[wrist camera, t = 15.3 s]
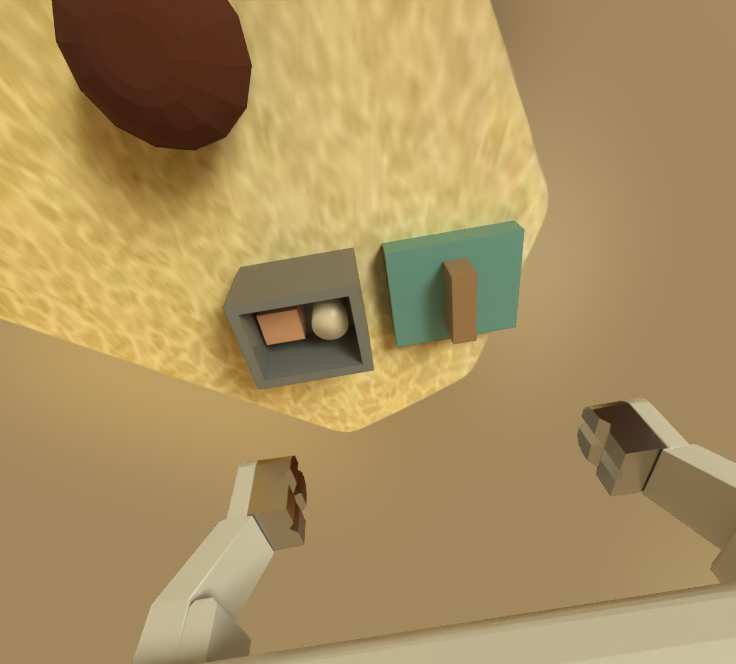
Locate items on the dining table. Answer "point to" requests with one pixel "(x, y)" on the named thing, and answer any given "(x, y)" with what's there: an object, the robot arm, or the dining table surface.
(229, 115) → the muffin
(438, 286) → the lid
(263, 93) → the dining table surface
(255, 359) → the storage box
